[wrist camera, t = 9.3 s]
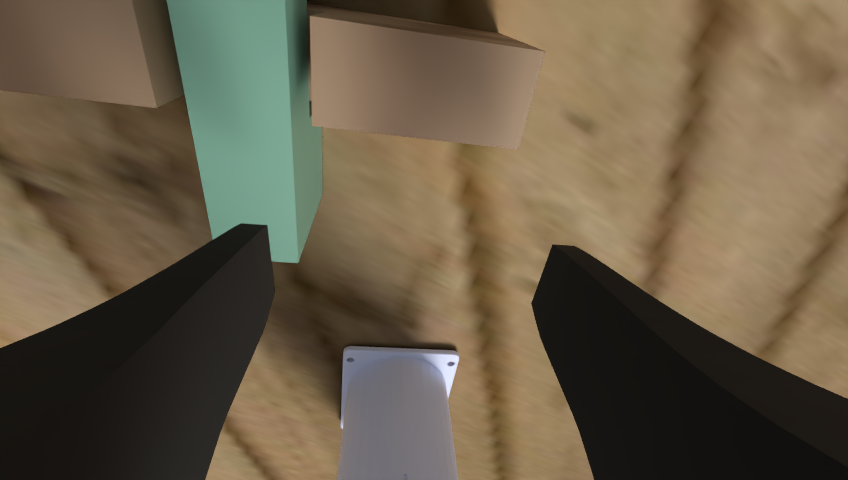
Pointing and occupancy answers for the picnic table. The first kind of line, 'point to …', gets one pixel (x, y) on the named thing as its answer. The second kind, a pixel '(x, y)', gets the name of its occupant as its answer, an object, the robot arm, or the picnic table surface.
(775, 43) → the picnic table surface
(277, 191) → the green notched bar
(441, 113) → the walnut notched bar
